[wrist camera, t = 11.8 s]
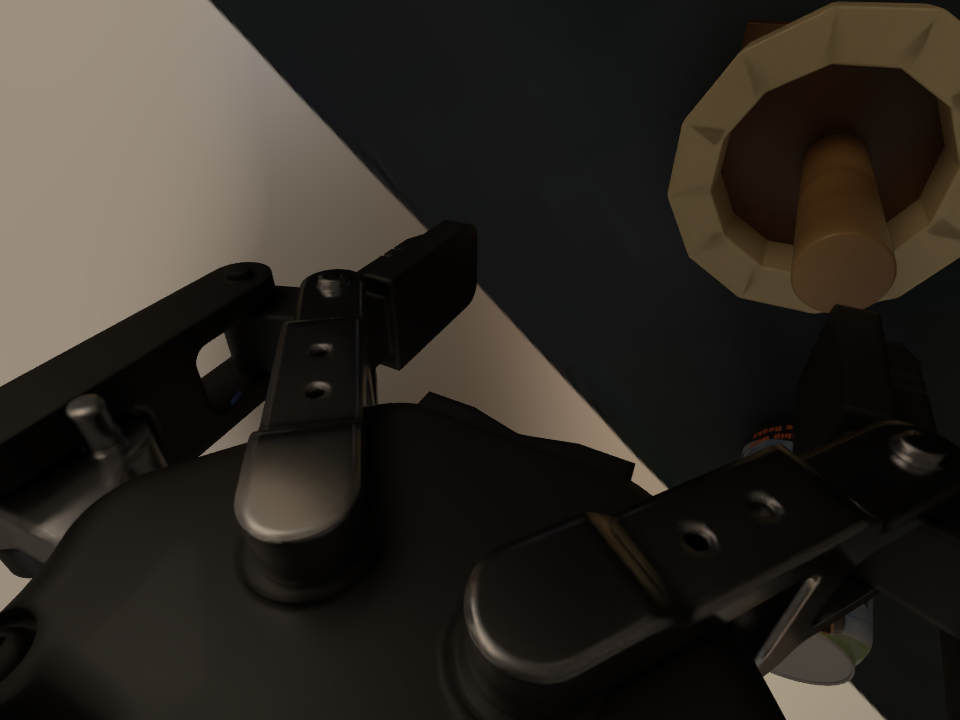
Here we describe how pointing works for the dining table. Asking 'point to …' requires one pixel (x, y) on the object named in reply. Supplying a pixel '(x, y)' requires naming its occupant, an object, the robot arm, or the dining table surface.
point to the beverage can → (840, 642)
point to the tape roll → (784, 58)
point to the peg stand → (833, 172)
